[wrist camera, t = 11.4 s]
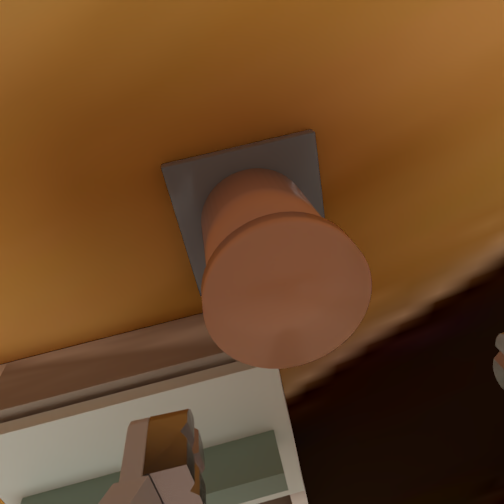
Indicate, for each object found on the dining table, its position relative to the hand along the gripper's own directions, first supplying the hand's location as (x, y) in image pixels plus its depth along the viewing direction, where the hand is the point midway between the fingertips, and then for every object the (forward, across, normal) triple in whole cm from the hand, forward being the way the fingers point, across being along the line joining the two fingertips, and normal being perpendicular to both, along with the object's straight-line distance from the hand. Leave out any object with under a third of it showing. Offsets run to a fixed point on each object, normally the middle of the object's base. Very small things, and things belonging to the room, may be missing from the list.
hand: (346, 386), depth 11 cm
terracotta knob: (+11, +1, 0) cm, 11 cm away
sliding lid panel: (+8, +9, +10) cm, 15 cm away
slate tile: (+11, +1, 0) cm, 11 cm away
